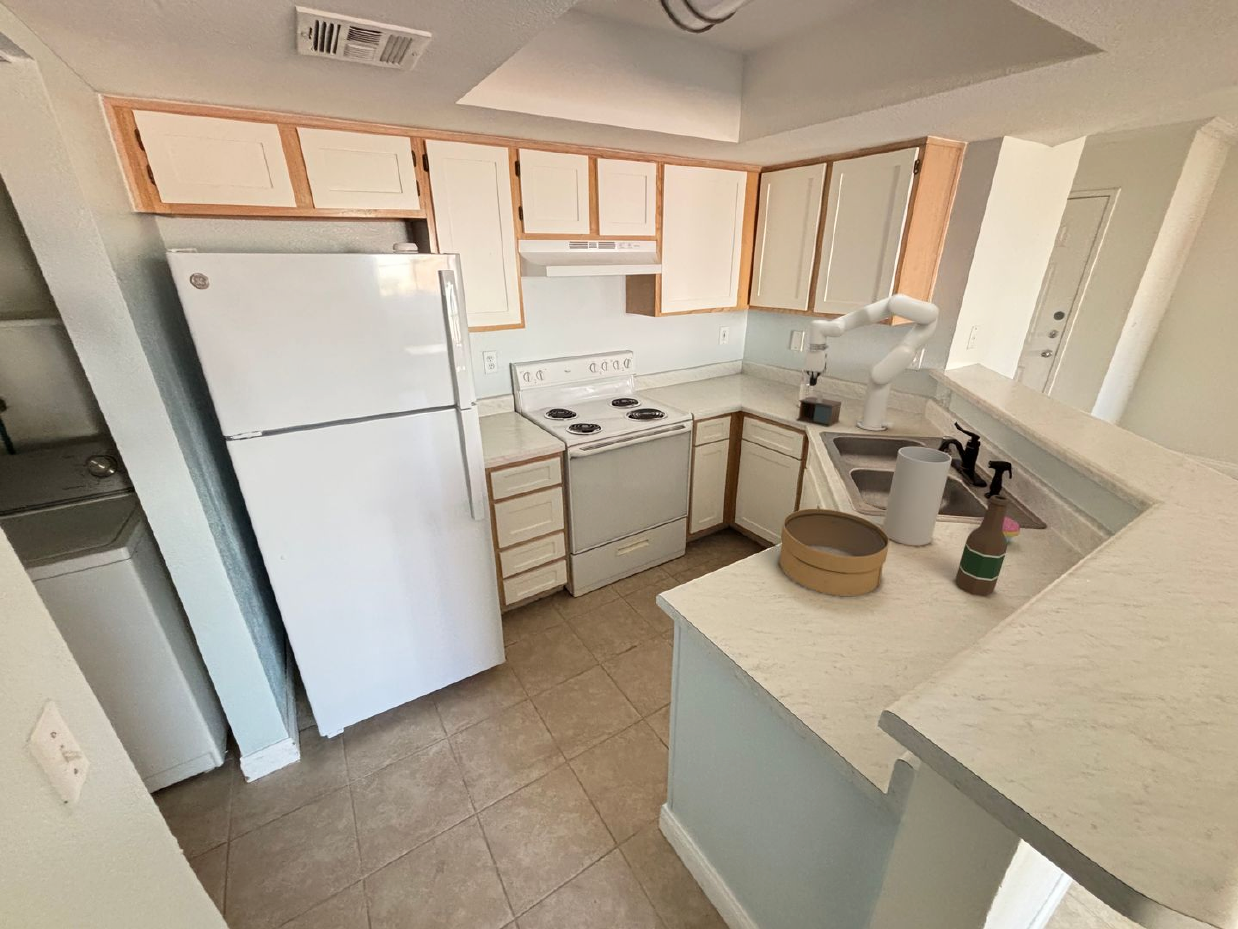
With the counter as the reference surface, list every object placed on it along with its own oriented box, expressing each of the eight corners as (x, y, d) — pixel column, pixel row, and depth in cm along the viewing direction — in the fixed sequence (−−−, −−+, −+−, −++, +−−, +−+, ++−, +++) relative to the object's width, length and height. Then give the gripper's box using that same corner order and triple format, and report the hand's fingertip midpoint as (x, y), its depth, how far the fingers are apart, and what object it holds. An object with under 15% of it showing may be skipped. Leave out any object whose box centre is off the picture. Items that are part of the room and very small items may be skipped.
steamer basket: (870, 549, 138) (878, 512, 133) (892, 605, 115) (901, 563, 111) (776, 538, 144) (781, 503, 139) (780, 589, 121) (785, 549, 117)
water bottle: (808, 409, 270) (814, 362, 260) (795, 407, 274) (801, 361, 264) (812, 406, 275) (818, 360, 265) (800, 404, 279) (805, 359, 269)
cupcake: (975, 540, 141) (986, 502, 137) (982, 529, 147) (993, 492, 143) (1012, 551, 136) (1025, 512, 131) (1018, 540, 141) (1031, 502, 137)
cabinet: (827, 426, 241) (830, 406, 237) (796, 420, 251) (799, 400, 248) (838, 421, 248) (841, 401, 245) (807, 415, 259) (810, 396, 255)
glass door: (828, 424, 241) (833, 396, 236) (813, 421, 246) (817, 393, 241) (829, 424, 241) (833, 396, 236) (813, 420, 247) (817, 393, 241)
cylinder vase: (892, 521, 153) (909, 443, 143) (937, 536, 144) (958, 454, 135) (874, 535, 145) (890, 454, 136) (921, 552, 136) (942, 466, 127)
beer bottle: (952, 588, 121) (978, 499, 112) (956, 574, 126) (981, 487, 117) (992, 601, 116) (1021, 508, 107) (994, 585, 122) (1022, 495, 113)
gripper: (836, 347, 235) (831, 386, 242) (805, 345, 245) (801, 382, 252) (829, 349, 230) (824, 388, 237) (798, 346, 240) (794, 384, 247)
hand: (812, 385), depth 244 cm, fingers closed
